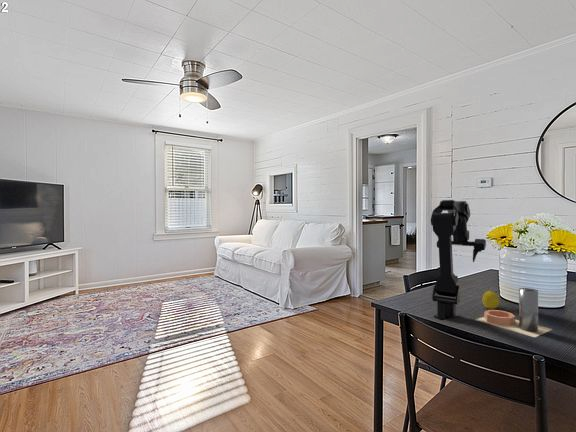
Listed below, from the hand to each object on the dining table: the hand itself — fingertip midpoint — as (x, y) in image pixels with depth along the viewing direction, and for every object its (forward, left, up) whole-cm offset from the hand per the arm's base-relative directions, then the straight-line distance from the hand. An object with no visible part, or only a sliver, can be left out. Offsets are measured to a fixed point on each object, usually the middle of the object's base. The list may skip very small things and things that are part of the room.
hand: (462, 260), depth 144 cm
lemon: (-6, -16, -17) cm, 24 cm away
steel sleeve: (-18, -34, -16) cm, 42 cm away
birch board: (-18, -29, -17) cm, 38 cm away
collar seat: (-18, -25, -17) cm, 36 cm away
